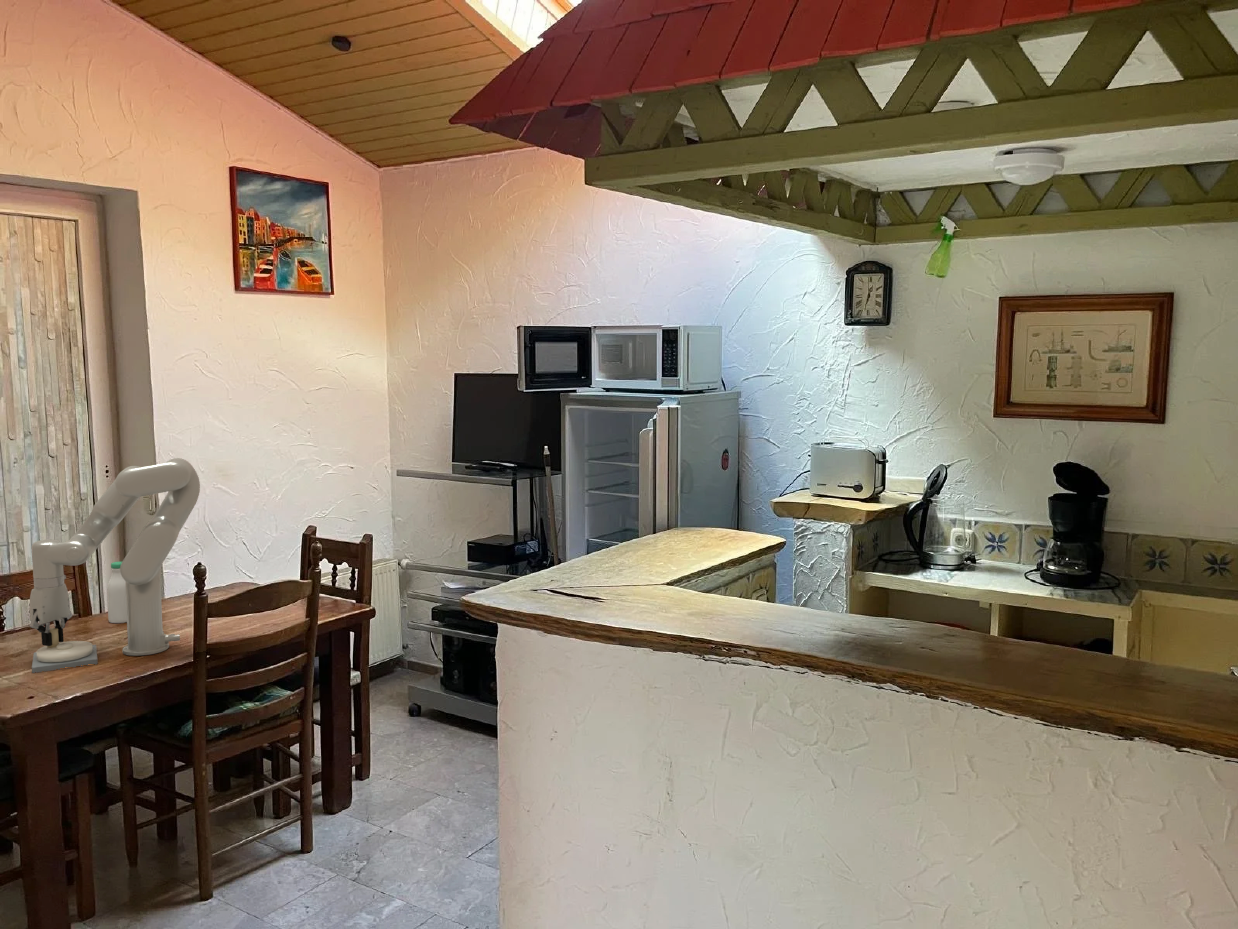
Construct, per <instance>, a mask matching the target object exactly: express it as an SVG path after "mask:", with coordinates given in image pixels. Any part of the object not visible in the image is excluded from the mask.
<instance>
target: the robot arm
mask: <svg viewBox="0 0 1238 929" xmlns="http://www.w3.org/2000/svg"><path fill="white" fill-rule="evenodd" d="M200 491H201V481H200V477H199V475H198V473H197V471H196V468H195V467H194V466H193V465H192V464H191V463H190V462H189V461H187V460H186V459H184V458H180V457H176V458H175V457H174V458H171V459H169V460H167V461H166V462H164V463H163V462H162V463H158V464H157V463H156V464H153V465H146V466H138V465H131V466H126V467H125V468H124V469H123V470H121V471H120V472H119V473H118V474H117V476H116V477H115V479H114V481H112V483H111V484H110V486H108V488H107V489H106V490H105V491H104V493H102V495H101V497H100V498H99V499H98V500H97V501H96V502H95V504H94V505H93V506H92V508H91V512H90V514H89V515H88V517H87V518H86V519H85V520H84V521H83V523H82V524H81V525H80V527H79V528H78V529H77V531H76V532H74V534H73V535H72V536H71V538H69V539H68V540H67V541H60V540H58V539H42V540H36V541H35V542H33V543H32V545H31V559H32V573H33V574H32V578H33V588H32V589H31V591H30V596H29V611H28V612H29V615H28V616H29V621H30V623H29V627H30V628H32V629H35V630H37V631H38V633H40V638H41V645H42V646H43V647H44V646H52V633H51V632H49V631H50V628H51V626H50V624H51V622H53V624H54V625H53V626H54V627H53V628H58V636H59V643H61V642H65V641H64V640H65V639H64V629H65V627H66V624H67V622H68V620H69V619H71V618H72V617H73V613H72V612H71V601H70V596H69V591H68V588H67V585H66V583H65V580H66V579H67V575H66V574H65V572H64V566H79V565H82V564H85V563H86V562H87V561H88V560H89V559H90V557H91V556H92V555H93V554H94V553H95V552H96V550H97V549H98V548H99V546H100V545H101V544H102V543H103V541H104V540H105V539H106V538H107V536H108V535H109V534H110V533H111V531H113V529H114V528H116V527H117V526H118V525H119V524H120V523H121V521H122V520H123V519H124V518H125V517H126V516H127V514H128V513H129V512H130V510H132V508H133V507H134V505H135V504H136V503H137V502H138V501H139V499H140V498H141V497H144V496H151V495H155V494H156V495H157V494H161V493H166V495H165V497H164V498H163V500H162V501H161V503H160V505H159V506H158V509H157V510H156V511H155V513H154V515H153V516H152V518H151V519H150V520H149V521H148V522H147V523H146V524H145V526H144V527H143V528H142V530H141V532H140V533H139V535H138V536H137V538H136V540H135V541H134V543H133V544H132V545H131V547H130V549H129V551H128V552H127V553H126V555H125V557H124V558H123V559H122V561H121V562H122V563H121V567H120V573H121V576H122V578H123V579H124V580H125V589H126V613H127V622H126V628H127V645H125V646H123V648H122V654H123V655H126V656H135V657H136V656H137V657H139V656H148V655H155V654H158V653H161V652H164V651H166V650H167V649H169V648H170V643H169V642H177V641H178V642H179V641H181V635H180V634H179V633H178V634H176V633H170V634H166V633H165V632H164V630H163V628H164V627H163V608H162V578H161V577H162V569H161V568H162V565H163V563H164V562H165V560H166V559H167V557H168V555H169V554H170V552H171V550H172V549H173V547H174V546H175V544H176V541H177V540H178V537H179V534H180V532H181V530H182V528H183V527H184V525H185V523H186V522H187V520H188V518H189V516H190V515H191V513H192V511H193V509H194V508H195V505H196V503H197V502H198V499H199V496H200Z"/></svg>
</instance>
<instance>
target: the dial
mask: <svg viewBox="0 0 1238 929" xmlns="http://www.w3.org/2000/svg"><path fill="white" fill-rule="evenodd" d="M49 632H51V633H52V646H44V645H43V646H42V647H40V648H38V649H37V650H36V652H37V660H38V661H41V662H64V661H71V660H76V659H80V658H83V657H86V656H88V655H90V654H91V653H92V652H93V646H92V645H93V643H92V642H90V641H85V640H70V641H69V640H68V641H63V642H59V636H58V628H55V627H50V631H49Z"/></svg>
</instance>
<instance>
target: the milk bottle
mask: <svg viewBox="0 0 1238 929" xmlns="http://www.w3.org/2000/svg"><path fill="white" fill-rule="evenodd" d="M121 563H122V561H114V562H112V563H110V568H111V574H110V577H109V580H108V582H107V586H106V592H107V593H106V594H107V596H106V597H107V600H106V601H107V619H108V622H109V623H111V624H124V623H127V613H126V589H125V580H124V579H123V578H122V576H121V573H120V567H121Z"/></svg>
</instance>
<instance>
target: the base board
mask: <svg viewBox="0 0 1238 929" xmlns="http://www.w3.org/2000/svg"><path fill="white" fill-rule="evenodd" d="M92 646H93V652H92V653H91V654H90V655H88V656H86V657H83V658H80V659H76V660H71V661H64V662H41V661H38V660H37V651H35V652H33V656H32V663H31V664H32V665H31V673H32V674H34V673H35V672H36V673H41V672H42V671H44V672H50V671H57V670H56V669H58V670H61V669H60V668H65V667H73V668H77V667H76V666H80V667H84V666H83V665H87V666H89V665H88V664H95V665H98V662H99V661H98V654H97V653H98V649H97V644H92ZM81 665H82V666H81ZM42 673H43V672H42Z"/></svg>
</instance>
